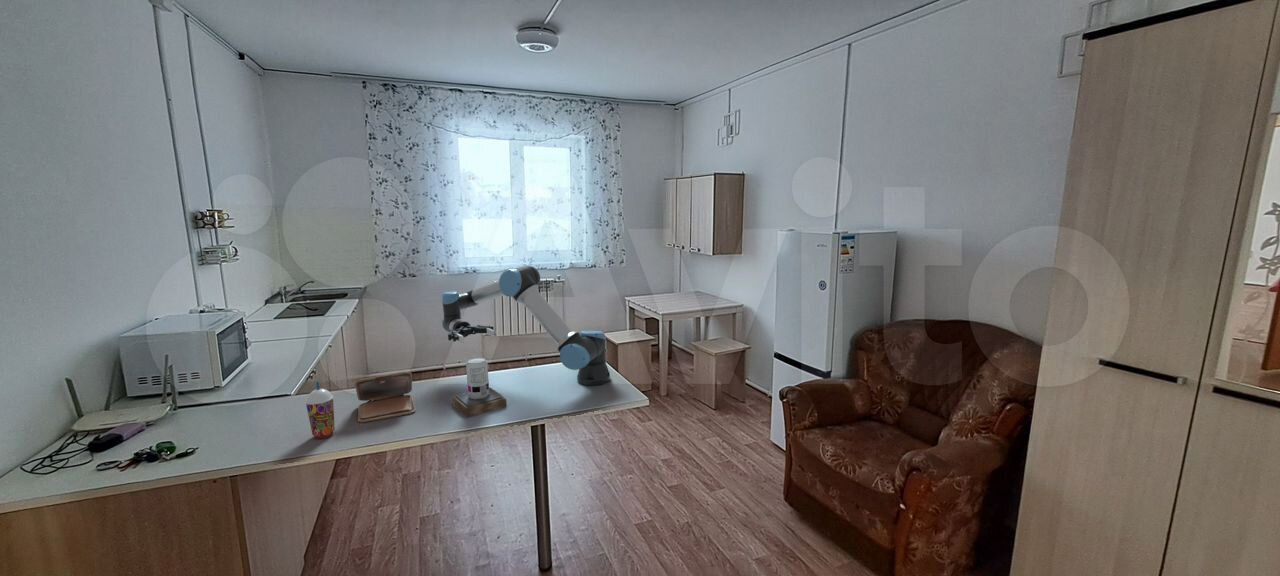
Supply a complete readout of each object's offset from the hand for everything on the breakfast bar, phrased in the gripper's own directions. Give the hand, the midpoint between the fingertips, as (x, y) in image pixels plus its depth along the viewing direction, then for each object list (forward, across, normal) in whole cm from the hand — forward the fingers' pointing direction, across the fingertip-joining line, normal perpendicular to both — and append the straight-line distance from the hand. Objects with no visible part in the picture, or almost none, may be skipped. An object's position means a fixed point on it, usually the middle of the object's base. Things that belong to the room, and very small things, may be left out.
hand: (478, 336), depth 216 cm
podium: (+14, +7, -25) cm, 29 cm away
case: (-8, +37, -25) cm, 45 cm away
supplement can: (+14, +7, -21) cm, 26 cm away
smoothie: (+3, +60, -25) cm, 65 cm away
